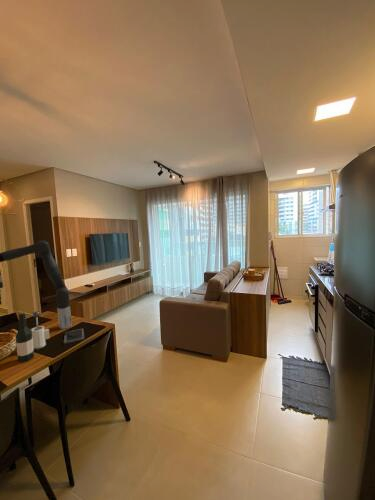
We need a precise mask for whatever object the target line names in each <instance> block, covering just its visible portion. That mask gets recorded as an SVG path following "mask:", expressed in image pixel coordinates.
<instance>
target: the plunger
mask: <svg viewBox="0 0 375 500" xmlns="http://www.w3.org/2000/svg"><path fill="white" fill-rule="evenodd" d="M40 313H41V312H40V311H34V312H32V316H33V318H35V321H36V322H35V323H36V324H35V325H36V327H37V328H36V329H34V330H40V329H42V328H41V327H40V328H38V326H39V320H38V317H39V316H40V315H41V314H40Z"/></svg>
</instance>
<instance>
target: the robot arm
mask: <svg viewBox="0 0 375 500" xmlns="http://www.w3.org/2000/svg"><path fill="white" fill-rule="evenodd" d="M37 253H39V256H40V257H41V259H42V264H43V267H44V270H45V273H46V275H47V277H48V278H49V280H50V281H51V282H52V284H53V287H54V289H55V298H56V306H57V307H56V308H57V317H58V318H57V319H58V328H59V329H60V330H64V329H67V328H70V327H71V328H72V324H73V323H72V315H71V303H70V291H69V289H68V288H67V286H66V283H65V282H64V280H63V276H62V273H61V270H60V268H59V265H58V264H57V262H56V260H55V259H54V257H53V254H52V252H51V247H50V243H48V242H47V241H46V240H39V241H37V242H35V243H32V244H29V245H27V246H24V247H17V248H13V249H8V250H5V251H2V252H0V263H3V262H7V261H10V260H15V259H18V258H22V257H24V256H27V255H31V254H32V255H33V254H37ZM2 288H4V282H3V276H2V271H1V270H0V305H2V290H1V289H2Z"/></svg>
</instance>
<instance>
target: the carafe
mask: <svg viewBox="0 0 375 500" xmlns="http://www.w3.org/2000/svg"><path fill="white" fill-rule="evenodd" d="M40 327H41V328H42V329H40V330H34V329H36V328H37V326H36V327H33V328H31V329H30V330H31V331H32V338H33V348H34V350H39V349H42V348H45V346H47V342H46V340H49V339H50V328H47V329H45V326H43V325H41V326H40V325H38V328H40Z"/></svg>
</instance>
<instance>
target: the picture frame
mask: <svg viewBox="0 0 375 500" xmlns="http://www.w3.org/2000/svg"><path fill="white" fill-rule="evenodd" d="M84 331H85V330H84V328H83V327H82V328H80V329H75V330H74V329H73V330H69V331H65V332H64V337H63V338H64V339H63V344H64V345H66V344H70V343H74V342H78V341H83V340H85V332H84Z"/></svg>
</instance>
